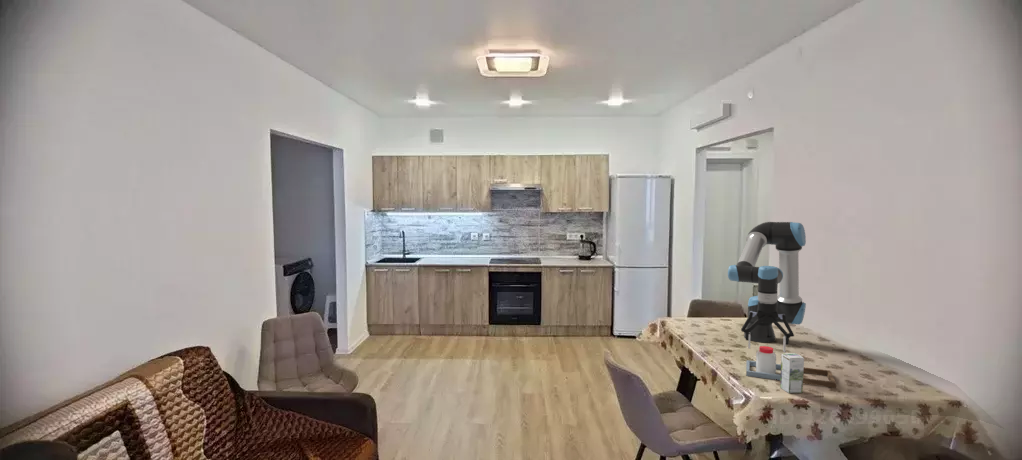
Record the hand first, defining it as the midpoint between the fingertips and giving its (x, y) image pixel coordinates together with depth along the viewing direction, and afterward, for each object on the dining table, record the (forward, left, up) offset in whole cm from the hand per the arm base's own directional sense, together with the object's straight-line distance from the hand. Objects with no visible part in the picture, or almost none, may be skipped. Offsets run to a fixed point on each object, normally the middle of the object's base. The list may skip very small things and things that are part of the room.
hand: (766, 349), depth 211 cm
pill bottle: (0, 0, -10) cm, 10 cm away
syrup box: (+18, +8, -10) cm, 23 cm away
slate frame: (0, 0, -10) cm, 10 cm away
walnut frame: (0, +17, -10) cm, 20 cm away
